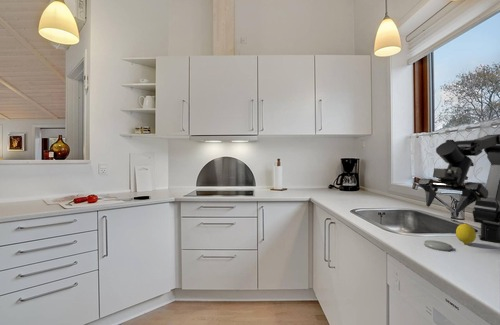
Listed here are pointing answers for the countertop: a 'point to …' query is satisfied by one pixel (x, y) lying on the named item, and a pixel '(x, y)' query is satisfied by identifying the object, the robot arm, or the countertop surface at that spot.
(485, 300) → the countertop surface
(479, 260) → the countertop surface
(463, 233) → the lemon
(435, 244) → the coaster
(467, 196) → the robot arm
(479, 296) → the countertop surface
